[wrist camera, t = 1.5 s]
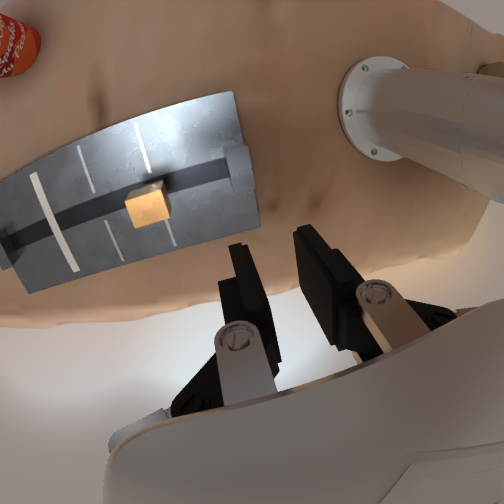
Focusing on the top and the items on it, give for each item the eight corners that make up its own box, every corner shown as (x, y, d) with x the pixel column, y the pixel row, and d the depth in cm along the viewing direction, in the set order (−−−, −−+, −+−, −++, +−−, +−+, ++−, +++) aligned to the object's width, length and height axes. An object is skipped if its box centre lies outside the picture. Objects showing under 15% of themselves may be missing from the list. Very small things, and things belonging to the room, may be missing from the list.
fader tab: (166, 172, 25) (160, 189, 21) (173, 195, 27) (170, 217, 22) (136, 181, 25) (124, 201, 21) (144, 204, 26) (135, 228, 22)
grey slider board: (229, 90, 25) (235, 89, 21) (257, 219, 32) (265, 235, 29) (-12, 189, 23) (-30, 202, 19) (34, 284, 30) (23, 303, 27)
